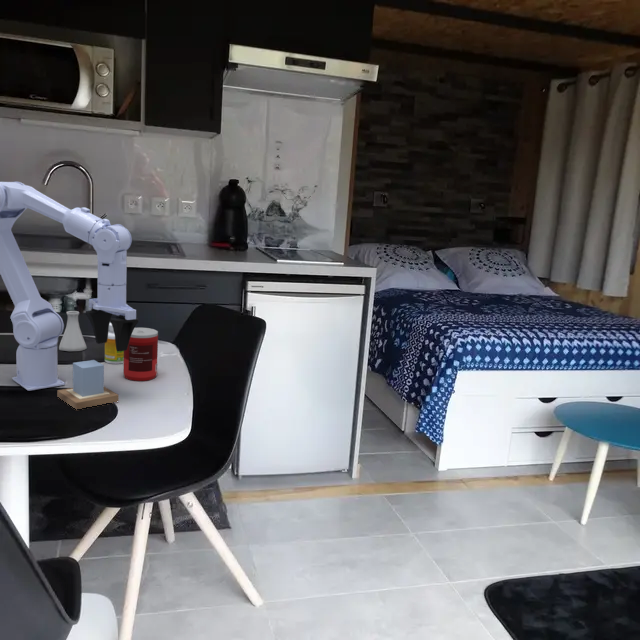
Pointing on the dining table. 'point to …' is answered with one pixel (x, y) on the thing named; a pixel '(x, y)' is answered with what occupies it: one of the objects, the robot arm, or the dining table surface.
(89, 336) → the dining table surface
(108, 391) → the plinth
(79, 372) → the block
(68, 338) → the flask
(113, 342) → the supplement bottle
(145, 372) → the canned food
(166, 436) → the dining table surface
